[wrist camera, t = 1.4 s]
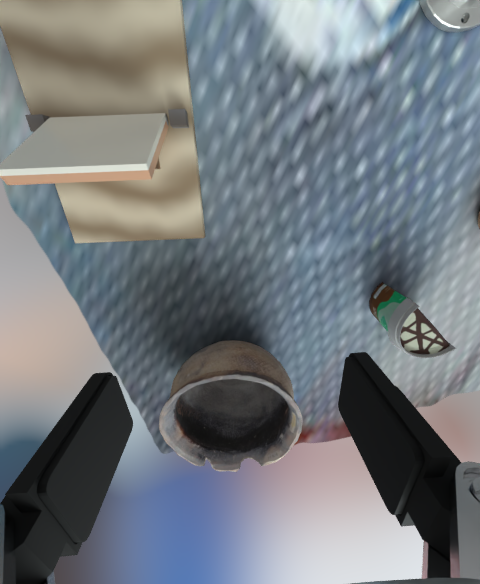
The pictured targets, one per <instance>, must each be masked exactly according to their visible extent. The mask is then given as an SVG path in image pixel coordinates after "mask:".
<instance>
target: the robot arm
mask: <svg viewBox="0 0 480 584" xmlns="http://www.w3.org/2000/svg"><path fill="white" fill-rule="evenodd" d="M419 1H420V5H421V7H422V9H423V12H424V14H425V16H426V17H427V18H428V19H429V21H430V22H431V23H432V24H433V25H435V26H436V27H437V28H439V29H441V30H444V31H447V32H462V31H467V30H470V29H472V28H475V27H477V26H479V25H480V0H419ZM338 407H339V411H340V414H341V416H342V418H343V420H344V422H345V424H346V426H347V428H348V430H349V432H350V434H351V436H352V438H353V440H354V442H355V444H356V446H357V448H358V450H359V452H360V454H361V456H362V458H363V460H364V462H365V464H366V466H367V469H368V471H369V472H370V475H371V477H372V479H373V480H374V483H375V485H376V487H377V489H378V491H379V493H380V495H381V497H382V499H383V501H384V503H385V505H386V507H387V509H388V511H389V512H390V513H391V514H392V515H396V517H397V519H398V521H399V523H400V525H401V526H411V525H415V526H416V528H417V530H418V532H419V534H420V535H421V537H422V539H423V540H424V546H423V566H422V579H411V580H410V579H409V580H392V581H375V582H364V583H352V584H480V463H475V462H464V463H461V462H460V461H459V459H458V458H457V457H456V456H455V455H454V453H453V452H452V451H451V450H450V449H449V448H448V446H447V445H446V444H445V443H444V442H443V440H442V439H441V438H440V437H439V436H438V434H437V433H436V432H435V431H434V430H433V429H432V427H431V426H430V425H429V424H428V423H427V421H426V420H425V419H424V418H423V417H422V416H421V414H420V413H419V412H418V411H417V410H416V408H415V407H414V406H413V405H412V404H411V402H410V401H409V400H408V399H407V398H406V396H405V395H404V394H403V393H402V392H401V391H400V390H399V389H398V388H397V387H396V386H394V385H393V384H392V382H391V381H390V380H389V379H388V378H387V376H386V375H385V374H384V373H383V372H382V370H381V369H380V368H379V367H378V366H377V364H376V363H375V362H374V361H373V359H372V358H371V357H370V356H369V355H368V354H367V353H366V352H361V353H351V354H350V355H349V357H346V359H345V364H344V370H343V377H342V383H341V390H340V396H339V402H338ZM132 427H133V420H132V417H131V415H130V412H129V409H128V407H127V404H126V401H125V399H124V396H123V394H122V391H121V388H120V385H119V383H118V380H117V378H116V376H113V375H112V373H110V372H108V373H95V374H93V375H92V376H91V378H90V379H89V380H88V382H87V383H86V384H85V386H84V387H83V388H82V390H81V391H80V393H79V394H78V395H77V397H76V398H75V399H74V401H73V402H72V404H71V405H70V406H69V408H68V409H67V410H66V412H65V413H64V415H63V416H62V417H61V419H60V420H59V421H58V423H57V424H56V426H55V427H54V428H53V430H52V431H51V432H50V434H49V435H48V437H47V438H46V439H45V441H44V442H43V443H42V445H41V446H40V447H39V449H38V450H37V452H36V453H35V454H34V456H33V457H32V458H31V460H30V461H29V462H28V464H27V465H26V467H25V468H24V469H23V471H22V472H21V474H20V475H19V476H18V478H17V479H16V480H15V482H14V483H13V484H12V486H11V487H10V488H9V490H8V491H7V493H6V494H5V495H6V496H5V498H4V499H3V501H2V502H1V503H0V584H55V580H54V568H55V566H56V564H57V562H58V560H59V557H60V556H69V555H77V554H78V551H79V549H80V547H81V544H82V542H84V541H86V540H87V538H88V537H89V535H90V533H91V530H92V528H93V525H94V523H95V520H96V518H97V515H98V513H99V510H100V508H101V506H102V503H103V500H104V498H105V496H106V493H107V491H108V488H109V486H110V483H111V481H112V478H113V476H114V473H115V471H116V468H117V466H118V463H119V461H120V458H121V456H122V453H123V451H124V448H125V446H126V443H127V441H128V438H129V436H130V433H131V431H132Z"/></svg>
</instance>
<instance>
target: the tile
mask: <svg viewBox="0 0 480 584" xmlns="http://www.w3.org/2000/svg"><path fill="white" fill-rule="evenodd" d="M168 125H169V122H168V117H167V114H165V113H154V114H128V115H103V116H77V117H51V118H49V119H48V120H46V121H45V122H44V123H43V124H42V125H41V126H40V127H39V128H38V129H37V130H36V131H35V132H34V133H33V134H32V135H31V136H29V137H28V138H27V139H26V140H25V141H24V142H23V143H22V144H21V145H20V146H19V147H18V148H17V149H16V150H15V151H13V152H12V153H11V154H10V155H9V156H8V157H7V158H6V159H5V160H4V161H3V162H2V163H1V164H0V177H1V178H2V179H3V180H4V181H5V183H6V184H7V185H24V184H49V183H74V182H99V181H124V180H149V179H152V177H153V174H154V171H155V168H156V164H157V161H158V158H159V155H160V152H161V149H162V146H163V143H164V140H165V137H166V134H167V130H168Z"/></svg>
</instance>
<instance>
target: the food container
mask: <svg viewBox="0 0 480 584" xmlns="http://www.w3.org/2000/svg"><path fill="white" fill-rule="evenodd" d="M369 304H370V310H371V312H372V314H373V315H374V316H375V317H376V318H377V320H378V321H379V322H380V323H381V324H382V326H383V327H384V328H385V329H386V330H387V331H388V336H389V339H390V341H391V342H392V344H393V345H394V346H396V347H397V348H398V349H400V350H401V351H403V352H405V353H407V354H409V355H412V356H415V357H419V358H432V357H437V356H441V355H444V354H446V353H449V352H451V351H453V350H454V349H456V348H455V347H454V346H452V345H451V344H450V343H448V342H447V341H446V340H445V339H444V338H443V336H442V335H441V334H440V333H439V332H438V330H437V329H436V328H435V327H434V326H433V325H432V323H431V322H430V321H429V320H428V319H427V318H426V317H425V316H424V315H423V313H422V312H421V311H420V310H419V309H418V307H420V306H418V305H417V304H416V303H414V302H413V301H412V300H410V299H409V298H408V297H407V298H406V297H404V296H403V295H401V294H400V293H398V292H397V291H395V290H393V289H392V288H390V287H389V286H387V285H386V284H384V283H383V282H382V283H381V284H380V285H379V286H377V288H376V289H375V290H374V292H373V293H372V295H371V298H370V301H369Z"/></svg>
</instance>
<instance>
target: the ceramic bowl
mask: <svg viewBox="0 0 480 584" xmlns="http://www.w3.org/2000/svg"><path fill="white" fill-rule="evenodd" d="M301 428H302V415H301V412H300V410H299V407H298V405H297V404H296V402H295V401H294V396H293V388H292V384H291V380H290V378H289V376H288V375H287V373H286V371H285V369H284V368H283V366H282V365H281V363H280V362H279V361H278V360H277V359H276V358H275V357H274V356H273V355H271V354H270V353H269V352H268V351H266V350H265V349H263V348H261V347H260V346H257V345H255V344H252V343H249V342H245V341H237V340H230V341H220V342H217V343H214V344H211V345H209V346H206V347H204V348H202V349H201V350H199V351H197V352H196V353H194V354H193V355H192V356H191V357H190V358H189V359H188V360H187V361H186V362H185V363H184V364H183V365H182V366H181V368H180V369H179V371H178V373H177V375H176V376H175V378H174V380H173V384H172V389H171V394H170V398H169V399H168V401H167V402H166V404H165V405H164V407H163V409H162V411H161V414H160V422H159V429H160V432H161V434H162V436H163V438H164V440H165V441H166V443H167V444H168V445H169V446H171V447H172V449H173V450H174V451H175V452H176V453H177V455H179V456H180V457H182V458H184V459H185V460H187V461H188V462H190V463H192V464H194V465H196V466H204V464H205V461H206V459H207V460H208V461H209V462H210V463H211V466H212V468H213V469H215V470H217V471H238V470H239V469H240V464H241V462H242V461H243V460H244V459H246V458H251V459H254V460H256V461H257V462H259V463H260V464H261V466H265V465H268V464H271V463H274V462H276V461H278V460H279V459H281V458H282V457H283V456H284V455H286V454H287V453H288V452H289V450H290V449H291V448H292V447H293V445H294V444H295V443H296V442H297V441H298V438H299V435H300V433H301Z"/></svg>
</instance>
